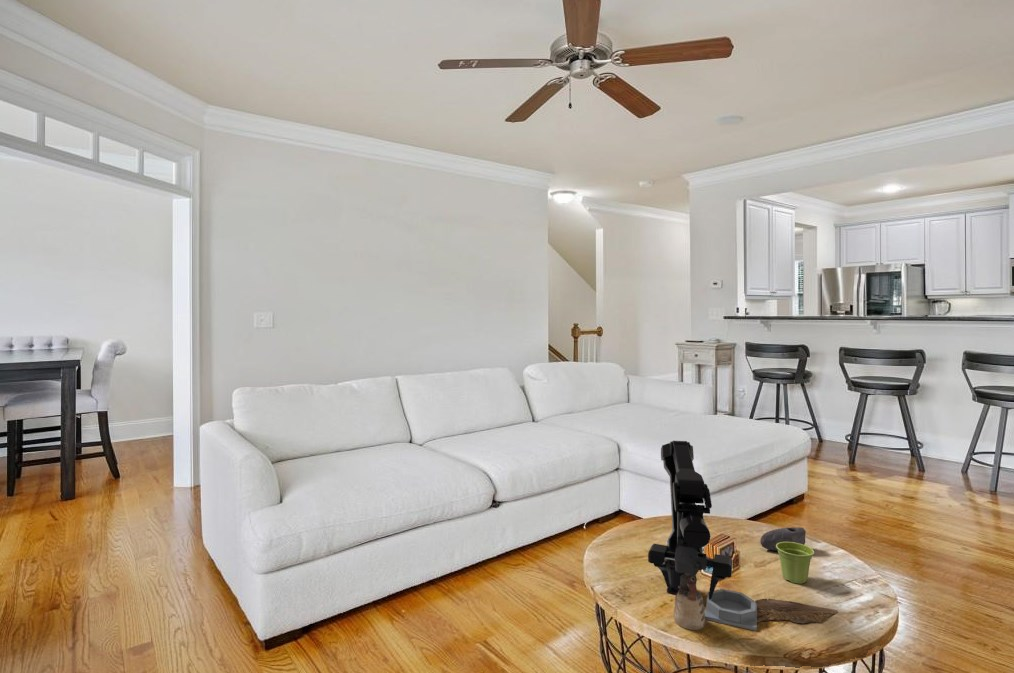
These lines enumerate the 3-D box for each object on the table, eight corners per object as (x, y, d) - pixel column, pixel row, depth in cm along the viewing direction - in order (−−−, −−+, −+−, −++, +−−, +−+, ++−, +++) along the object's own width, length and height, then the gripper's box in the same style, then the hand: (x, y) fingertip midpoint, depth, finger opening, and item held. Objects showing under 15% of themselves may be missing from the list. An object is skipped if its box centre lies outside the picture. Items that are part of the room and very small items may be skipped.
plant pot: (771, 569, 153) (771, 540, 153) (807, 572, 151) (807, 542, 151) (781, 585, 144) (781, 554, 144) (819, 588, 142) (819, 556, 142)
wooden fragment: (740, 622, 127) (740, 618, 127) (725, 599, 138) (725, 595, 138) (852, 628, 124) (852, 623, 124) (828, 603, 135) (828, 599, 135)
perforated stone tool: (764, 554, 164) (764, 531, 164) (756, 546, 169) (756, 525, 169) (812, 553, 164) (812, 531, 164) (802, 546, 169) (802, 525, 169)
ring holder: (703, 619, 128) (703, 606, 128) (708, 596, 138) (708, 585, 138) (756, 631, 123) (756, 618, 123) (757, 606, 133) (757, 595, 133)
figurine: (701, 614, 130) (701, 566, 130) (708, 631, 123) (708, 580, 123) (671, 613, 131) (671, 565, 130) (676, 629, 124) (677, 578, 123)
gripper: (643, 536, 123) (643, 602, 123) (730, 550, 115) (729, 621, 115) (652, 520, 133) (652, 581, 133) (732, 532, 125) (732, 597, 125)
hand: (689, 594), depth 127 cm, fingers open, 9 cm apart
